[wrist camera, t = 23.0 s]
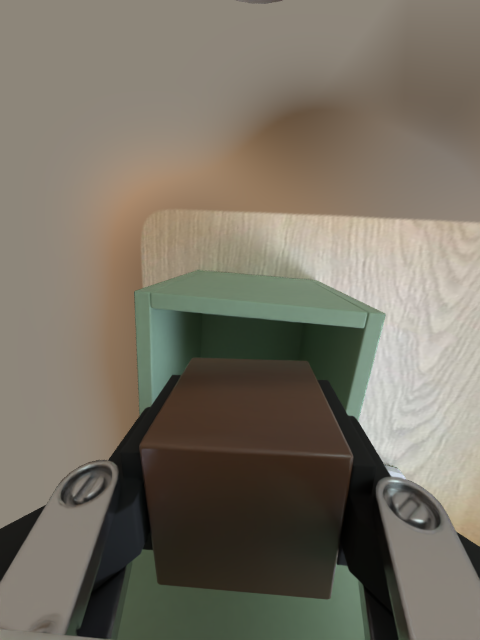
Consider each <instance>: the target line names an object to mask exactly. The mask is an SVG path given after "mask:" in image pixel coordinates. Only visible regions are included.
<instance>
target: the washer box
mask: <svg viewBox="0 0 480 640" xmlns="http://www.w3.org/2000/svg"><path fill="white" fill-rule="evenodd" d="M134 298H135V323H136V344H137V345H136V346H137V367H138V390H139V414H140V415H141V413H142V412H143V411H144V409H145V408H147V407H151V405H152V404H153V402H154V401H155V399H156V398H157V396H158V395H159V394H160V392H161V391H162V389H163V388H164V386H165V385H166V383H167V382H168V380H169V379H170V377H171V376H172V375H182V373H183V372H184V370H185V368H186V367H187V365H188V363H189V362H190V360H191V359H192V358H226V359H259V360H293V361H308V362H309V364H310V366H311V368H312V371H313V373H314V375H315V377H316V379H317V380H328V381H329V382H330V384H331V386H332V388H333V389H334V391H335V393H336V395H337V397H338V398H339V400H340V402H341V404H342V405H343V407H344V409H345V411H346V413H347V414H348V415H349V416H354V417H355V418H356V419H357V420H359V416H360V413H361V409H362V405H363V401H364V397H365V393H366V389H367V385H368V382H369V378H370V374H371V370H372V366H373V362H374V358H375V354H376V351H377V347H378V343H379V339H380V335H381V331H382V327H383V323H384V320H385V316H386V315H385V313H383V312H381V311H379V310H377V309H374V308H372V307H370V306H368V305H366V304H364V303H362V302H360V301H358V300H356V299H354V298H352V297H350V296H348V295H346V294H344V293H342V292H340V291H337V290H335V289H333V288H331V287H329V286H327V285H325V284H323V283H321V282H319V281H317V280H307V279H295V278H284V277H272V276H261V275H249V274H238V273H226V272H215V271H203V270H197V271H194V272H191V273H188V274H185V275H182V276H179V277H176V278H173V279H170V280H166V281H163V282H160V283H157V284H154V285H151V286H148V287H145V288H142V289H139V290H136V291H135V292H134Z"/></svg>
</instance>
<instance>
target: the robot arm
mask: <svg viewBox="0 0 480 640" xmlns="http://www.w3.org/2000/svg"><path fill="white" fill-rule="evenodd" d="M180 377H181V375H172V376H171V377H170V379H169V380H168V382H167V383H166V385H165V386H164V388H163V389H162V391H161V392H160V394H159V395H158V396H157V398H156V399H155V401H154V402H153V404H152V405H151V407H147V408H145V409H144V411H143V412H142V413H141V415H140V417H139V418H138V419H137V420H136V422H135V423H134V425H133V426H132V428H131V429H130V430H129V432H128V433H127V435H126V436H125V437H124V439H123V440H122V441H121V443H120V444H119V446H118V447H117V449H116V450H115V451H114V453H113V454H112V456H111V457H110V458H109V460H97V461H92V462H89V463H86V464H84V465H82V466H80V467H78V468H77V469H75V470H73V471H72V472H71V473H69V474H68V475H67V476H66V477H65V478H64V479H63V480H62V481H61V482H60V483H59V485H58V486H57V487H56V489H55V491H54V492H53V494H52V496H51V497H50V499H49V501H48V502H47V504H46V505H45V506H43V507H41V508H39V509H37V510H35V511H33V512H31V513H30V514H28V515H26V516H24V517H22V518H20V519H18V520H16V521H14V522H13V523H10V524H9V525H7V526H5V527H3V528H1V529H0V640H117V637H118V632H119V627H120V622H121V617H122V613H123V608H124V603H125V598H126V593H127V588H128V583H129V578H130V573H131V568H132V561H133V560H134V559H135V558H136V557H137V556H139V555H140V554H141V552H142V549H143V550H153V547H152V539H151V532H150V524H149V517H148V509H147V502H146V494H145V487H144V480H143V472H142V465H141V457H140V450H139V445H140V443H141V441H142V439H143V438H144V436H145V434H146V433H147V431H148V429H149V428H150V426H151V424H152V423H153V421H154V420H155V418H156V416H157V415H158V413H159V411H160V410H161V408H162V406H163V405H164V403H165V401H166V400H167V398H168V396H169V395H170V393H171V392H172V390H173V388H174V387H175V385H176V383H177V382H178V380H179V378H180ZM317 381H318V383H319V385H320V387H321V389H322V391H323V393H324V396H325V398H326V400H327V402H328V404H329V406H330V408H331V410H332V412H333V414H334V416H335V419H336V421H337V423H338V425H339V427H340V429H341V431H342V433H343V435H344V437H345V439H346V442H347V444H348V446H349V448H350V450H351V452H352V454H353V464H352V470H351V477H350V483H349V489H348V495H347V501H346V508H345V514H344V520H343V526H342V532H341V538H340V545H339V551H338V557H337V565H343V566H348V570H349V572H351V573H352V574H353V575H354V576H355V577H356V578H357V579H358V585H359V594H360V602H361V610H362V619H363V627H364V635H365V640H480V547H479V546H478V545H476V544H474V543H473V542H471V541H470V540H468V539H467V538H465V537H464V536H462V535H460V534H459V533H457V532H456V531H455V529H454V527H453V525H452V523H451V521H450V519H449V516H448V514H447V513H446V511H445V510H444V508H443V506H442V505H441V503H440V502H439V501H438V500H437V499H436V498H435V497H434V496H433V495H432V494H431V493H429V492H428V491H427V490H425V489H424V488H423V487H421V486H419V485H417V484H416V483H414V482H412V481H409V480H406V479H404V478H400V477H392V476H391V475H390V474H389V472H388V470H387V469H386V467H385V465H384V464H383V462H382V460H381V459H380V457H379V455H378V454H377V452H376V450H375V449H374V447H373V445H372V444H371V442H370V440H369V439H368V437H367V435H366V434H365V432H364V430H363V429H362V427H361V425H360V424H359V422H358V420H357V419H356V418H355V417H354V416H349V415H348V414H347V413H346V411H345V409H344V407H343V405H342V404H341V402H340V400H339V398H338V397H337V395H336V393H335V391H334V389H333V388H332V386H331V384H330V382H329V381H328V380H317Z"/></svg>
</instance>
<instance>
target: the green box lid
mask: <svg viewBox="0 0 480 640" xmlns="http://www.w3.org/2000/svg"><path fill="white" fill-rule="evenodd" d="M117 640H365V635H364V627H363V619H362V610H361V602H360V594H359V585H358V579H357V578H356V577H355V576H354V575H353V574H352V573H351V572H349V570H348V566H343V565H337V563H336V569H335V576H334V582H333V588H332V594H331V598H330V599H328V600H326V599H315V598H304V597H292V596H281V595H270V594H259V593H247V592H236V591H225V590H213V589H202V588H191V587H179V586H168V585H160V584H158V583H157V576H156V569H155V561H154V554H153V550H143V549H142V552H141V554H140V555H139V556H137V557H136V558H135V559H134V560H133V561H132V568H131V573H130V578H129V583H128V588H127V593H126V598H125V603H124V608H123V613H122V617H121V622H120V627H119V632H118V637H117Z"/></svg>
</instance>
